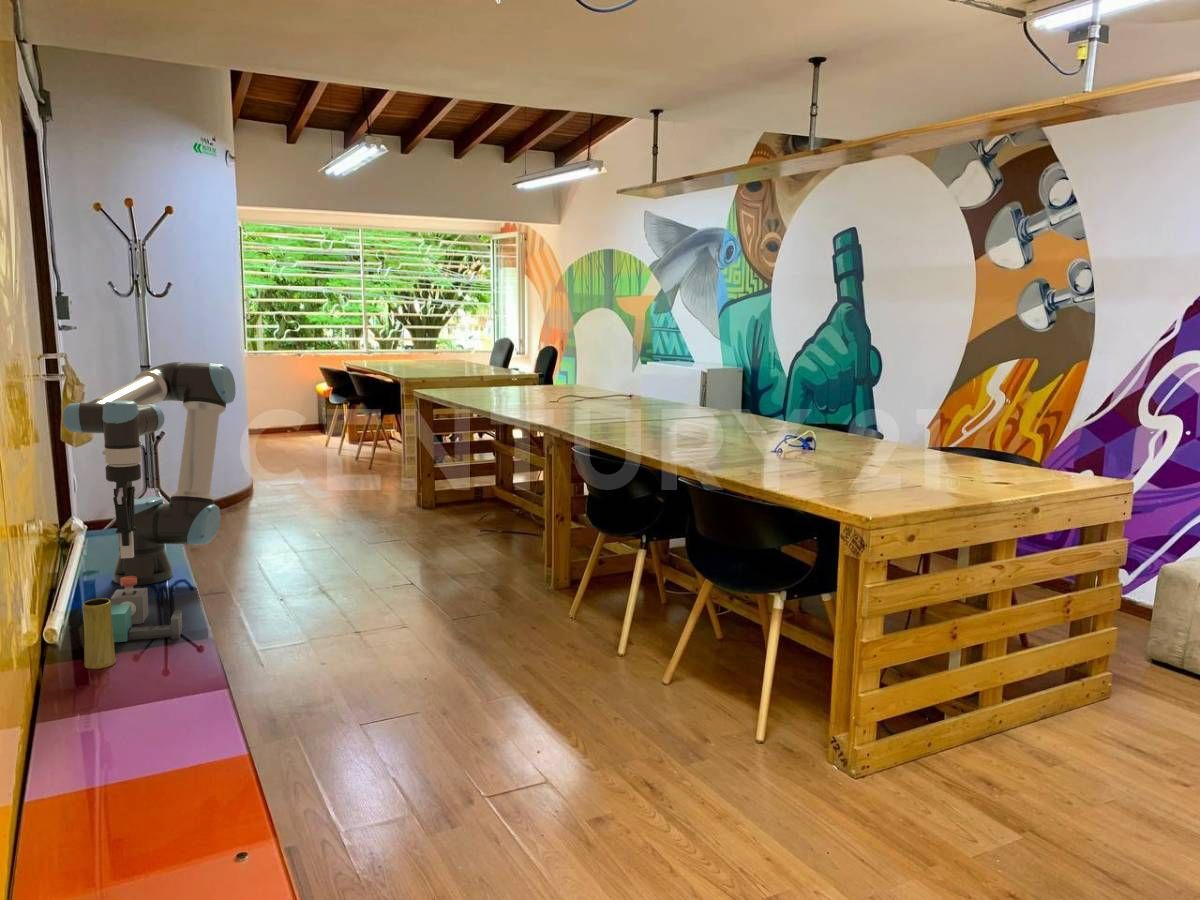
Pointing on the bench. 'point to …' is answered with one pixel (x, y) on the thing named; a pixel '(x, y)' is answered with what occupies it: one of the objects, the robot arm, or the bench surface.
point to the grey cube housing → (133, 603)
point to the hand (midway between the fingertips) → (127, 557)
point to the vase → (98, 634)
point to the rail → (159, 629)
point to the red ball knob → (128, 584)
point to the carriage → (121, 621)
